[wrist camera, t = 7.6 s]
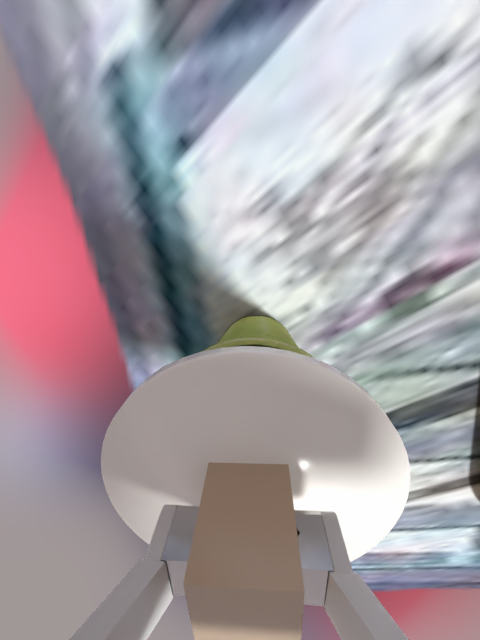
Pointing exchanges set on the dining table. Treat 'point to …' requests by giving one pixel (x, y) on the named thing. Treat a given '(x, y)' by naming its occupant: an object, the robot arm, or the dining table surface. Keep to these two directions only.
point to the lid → (253, 476)
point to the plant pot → (258, 335)
